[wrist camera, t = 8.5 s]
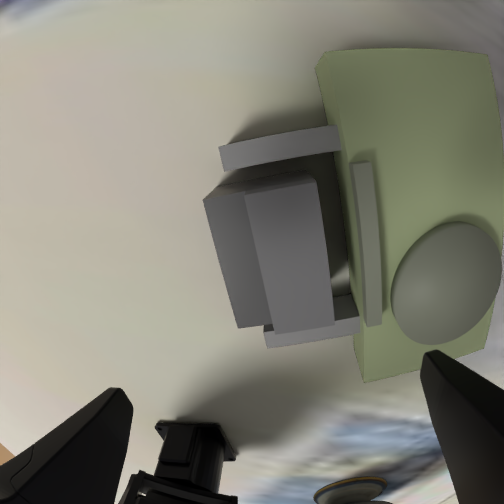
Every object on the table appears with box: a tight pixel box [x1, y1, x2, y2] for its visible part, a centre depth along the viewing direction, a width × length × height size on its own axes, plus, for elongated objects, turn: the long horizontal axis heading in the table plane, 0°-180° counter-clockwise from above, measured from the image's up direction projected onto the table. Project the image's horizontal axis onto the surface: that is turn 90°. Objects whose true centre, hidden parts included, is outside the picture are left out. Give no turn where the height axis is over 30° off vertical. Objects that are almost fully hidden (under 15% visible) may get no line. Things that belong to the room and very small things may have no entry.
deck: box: [219, 48, 504, 383], centre depth 15 cm, size 18×14×4 cm
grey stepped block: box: [203, 170, 335, 335], centre depth 16 cm, size 7×5×4 cm
